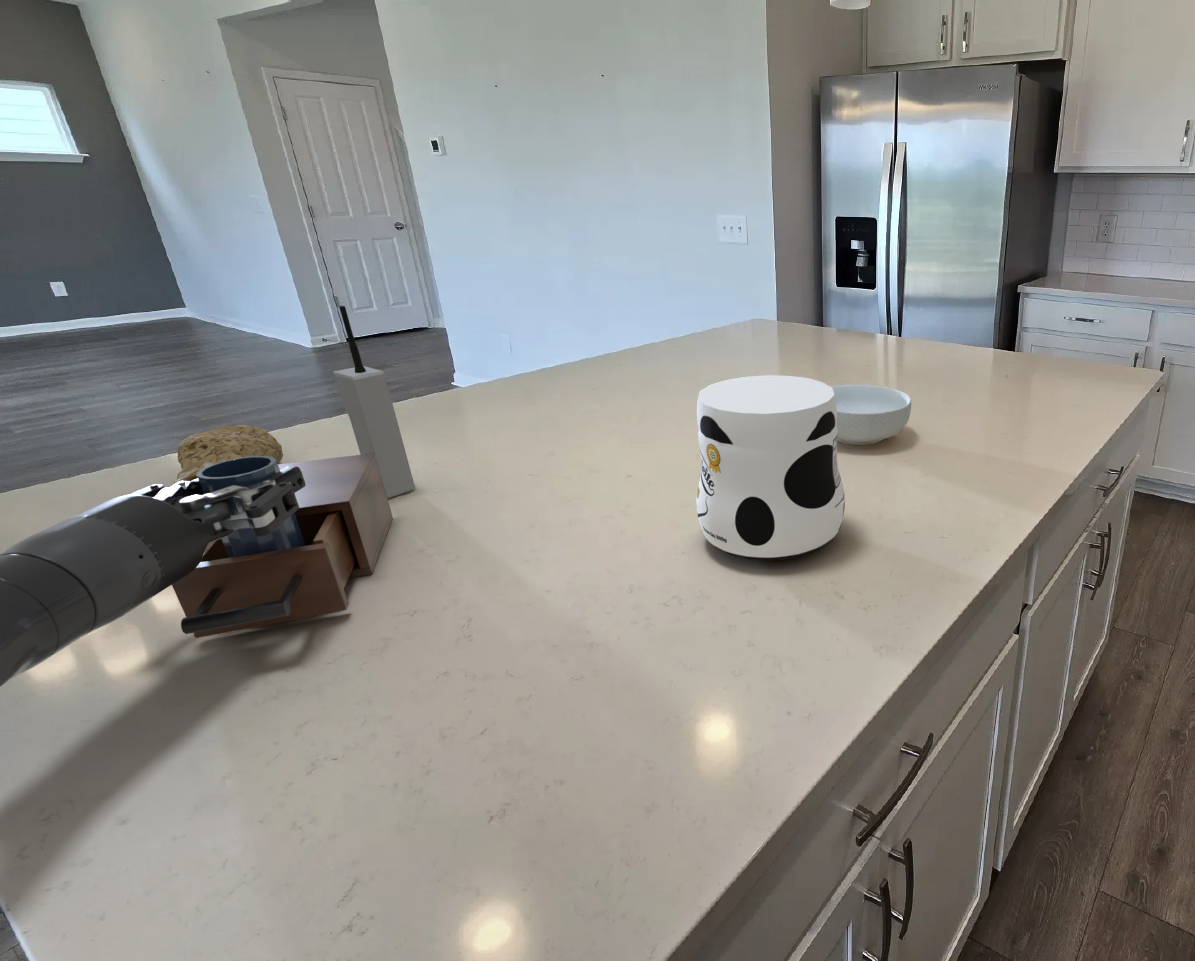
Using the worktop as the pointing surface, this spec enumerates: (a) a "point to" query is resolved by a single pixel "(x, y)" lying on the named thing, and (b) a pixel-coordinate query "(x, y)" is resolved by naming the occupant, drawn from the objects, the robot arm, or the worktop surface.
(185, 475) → the sponge
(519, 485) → the worktop surface
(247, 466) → the utensil crock
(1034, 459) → the worktop surface
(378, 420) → the vintage mobile phone
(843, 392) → the cereal bowl
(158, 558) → the robot arm
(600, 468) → the worktop surface
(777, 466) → the milk container
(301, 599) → the drawer
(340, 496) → the cabinet
